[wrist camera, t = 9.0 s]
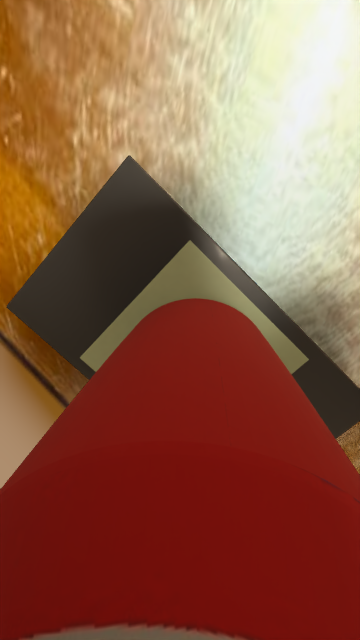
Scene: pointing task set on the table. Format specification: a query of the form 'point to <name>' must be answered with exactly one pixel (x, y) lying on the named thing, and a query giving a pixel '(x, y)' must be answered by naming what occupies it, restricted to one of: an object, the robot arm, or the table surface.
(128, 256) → the tray
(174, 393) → the beverage can
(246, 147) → the table surface
